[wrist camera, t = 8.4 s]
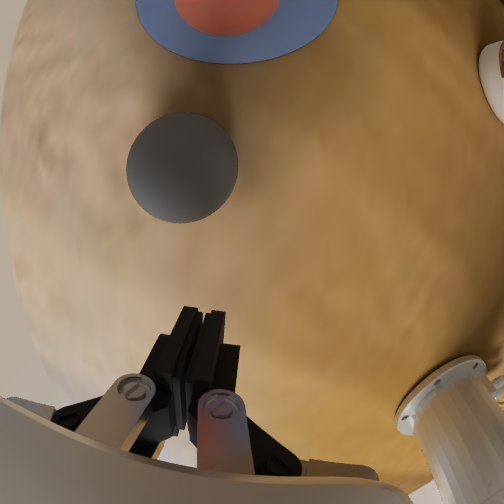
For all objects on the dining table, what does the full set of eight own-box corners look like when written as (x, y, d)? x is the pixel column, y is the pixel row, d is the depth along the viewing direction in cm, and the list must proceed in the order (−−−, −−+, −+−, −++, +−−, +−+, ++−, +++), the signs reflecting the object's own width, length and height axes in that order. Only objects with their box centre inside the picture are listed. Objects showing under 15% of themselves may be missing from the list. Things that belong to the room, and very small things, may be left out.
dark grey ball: (213, 258, 13) (237, 204, 17) (233, 135, 9) (255, 115, 14) (108, 230, 13) (154, 186, 17) (104, 118, 10) (161, 101, 14)
